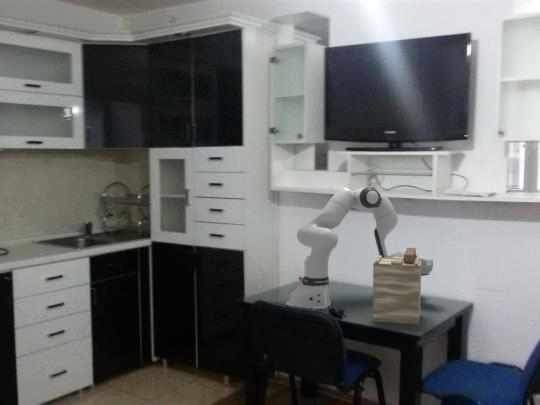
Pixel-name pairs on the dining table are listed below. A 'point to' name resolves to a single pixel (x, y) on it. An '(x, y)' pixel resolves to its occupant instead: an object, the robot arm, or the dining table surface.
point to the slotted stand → (396, 290)
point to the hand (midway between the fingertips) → (411, 258)
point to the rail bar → (409, 255)
